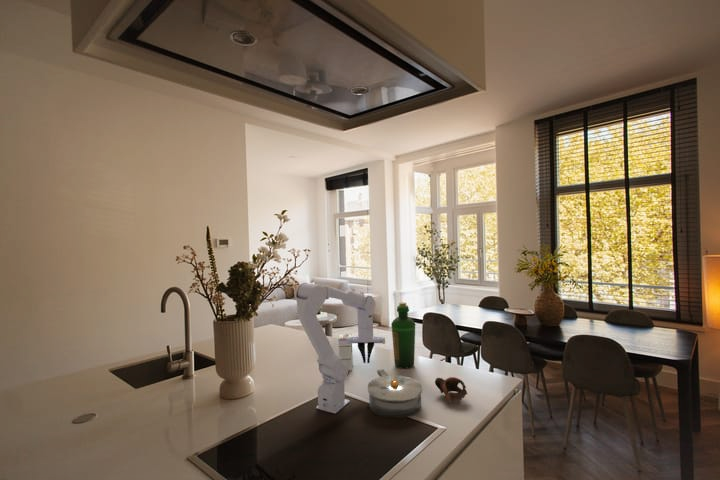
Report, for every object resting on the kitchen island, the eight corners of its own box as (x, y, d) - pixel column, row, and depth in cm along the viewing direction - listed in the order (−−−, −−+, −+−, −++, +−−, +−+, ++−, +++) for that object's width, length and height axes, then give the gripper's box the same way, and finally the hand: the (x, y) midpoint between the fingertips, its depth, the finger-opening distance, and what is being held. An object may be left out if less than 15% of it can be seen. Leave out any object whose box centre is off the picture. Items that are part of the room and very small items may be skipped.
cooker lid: (431, 397, 111) (431, 388, 111) (377, 406, 107) (377, 397, 107) (402, 369, 135) (402, 362, 135) (357, 376, 130) (357, 368, 130)
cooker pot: (412, 422, 106) (412, 406, 106) (361, 412, 114) (360, 397, 114) (430, 390, 128) (430, 377, 128) (386, 383, 135) (385, 371, 135)
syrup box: (352, 370, 150) (351, 337, 150) (339, 370, 150) (338, 337, 150) (353, 365, 155) (352, 333, 155) (340, 366, 155) (339, 334, 155)
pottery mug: (470, 396, 124) (471, 381, 120) (459, 417, 118) (460, 402, 113) (439, 380, 131) (439, 366, 126) (427, 399, 124) (427, 385, 120)
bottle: (399, 359, 161) (398, 300, 161) (420, 364, 155) (418, 302, 155) (388, 367, 153) (386, 304, 152) (409, 372, 146) (407, 306, 146)
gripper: (384, 323, 134) (385, 358, 134) (347, 324, 135) (348, 358, 135) (384, 328, 127) (385, 365, 127) (345, 328, 128) (346, 365, 128)
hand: (366, 362), depth 130 cm, fingers closed
